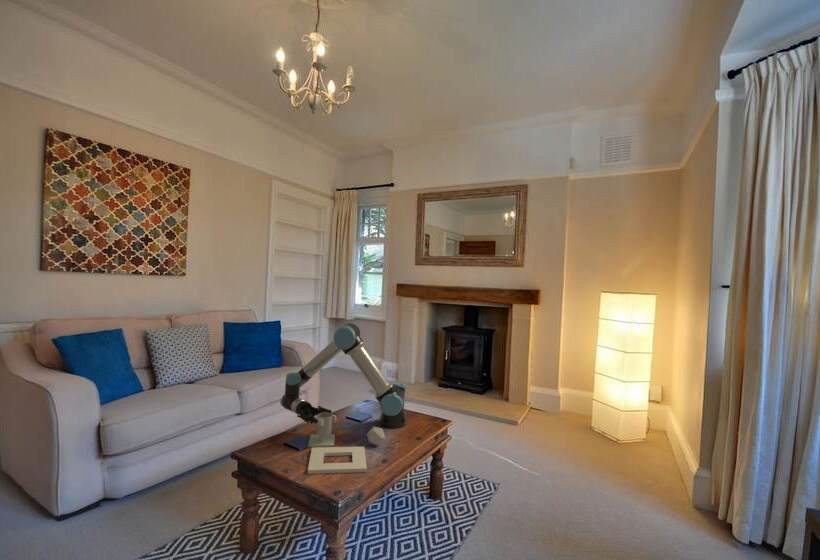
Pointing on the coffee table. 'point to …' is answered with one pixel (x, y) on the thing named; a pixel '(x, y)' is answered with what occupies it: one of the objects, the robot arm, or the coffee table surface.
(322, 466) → the beige flat frame
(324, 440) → the coaster
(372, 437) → the die
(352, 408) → the coffee table surface
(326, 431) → the cup
